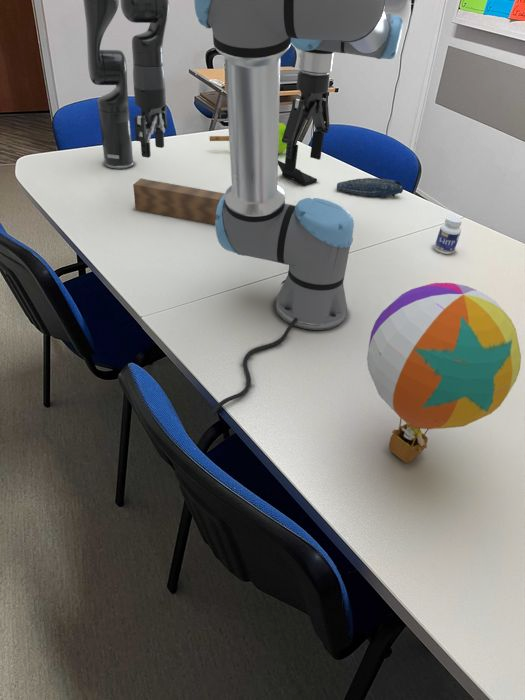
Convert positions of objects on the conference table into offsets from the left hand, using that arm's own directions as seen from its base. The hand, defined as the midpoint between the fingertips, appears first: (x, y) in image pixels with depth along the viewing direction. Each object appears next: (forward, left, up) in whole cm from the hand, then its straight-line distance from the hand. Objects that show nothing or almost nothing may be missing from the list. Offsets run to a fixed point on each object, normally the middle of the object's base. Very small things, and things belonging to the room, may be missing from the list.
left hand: (153, 151), depth 137 cm
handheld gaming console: (-9, +51, -16) cm, 54 cm away
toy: (+100, +8, -16) cm, 102 cm away
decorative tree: (-37, +48, -16) cm, 62 cm away
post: (+14, +16, -16) cm, 27 cm away
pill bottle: (+48, +65, -16) cm, 82 cm away
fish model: (+9, +68, -16) cm, 70 cm away
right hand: (+24, +32, +2) cm, 40 cm away
